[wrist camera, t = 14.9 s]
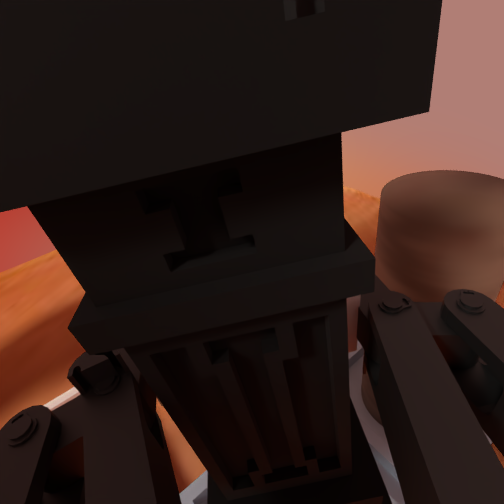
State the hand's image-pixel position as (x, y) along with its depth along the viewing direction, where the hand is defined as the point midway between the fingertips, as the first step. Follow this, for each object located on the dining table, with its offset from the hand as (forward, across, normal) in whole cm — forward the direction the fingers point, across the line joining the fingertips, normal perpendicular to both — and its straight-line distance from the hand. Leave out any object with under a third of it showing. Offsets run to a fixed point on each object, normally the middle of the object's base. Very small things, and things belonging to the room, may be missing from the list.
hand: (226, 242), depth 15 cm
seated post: (+1, +12, -21) cm, 24 cm away
